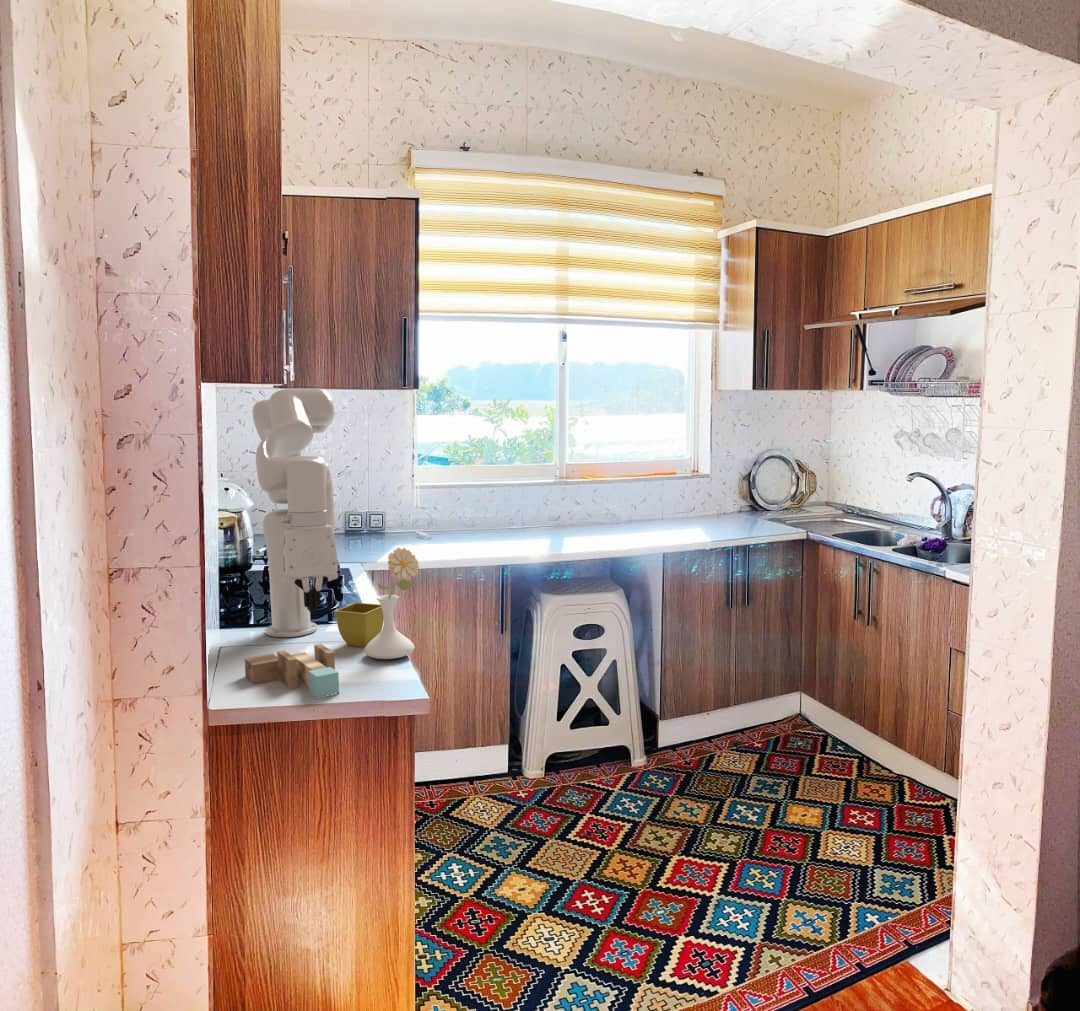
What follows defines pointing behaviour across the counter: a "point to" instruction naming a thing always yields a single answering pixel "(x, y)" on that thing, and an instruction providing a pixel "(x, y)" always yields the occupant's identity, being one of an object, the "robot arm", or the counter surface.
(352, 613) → the flower pot
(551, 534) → the counter surface
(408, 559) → the flower in vase
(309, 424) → the robot arm
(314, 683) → the block
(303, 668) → the push bar
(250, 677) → the pedestal
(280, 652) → the channel
